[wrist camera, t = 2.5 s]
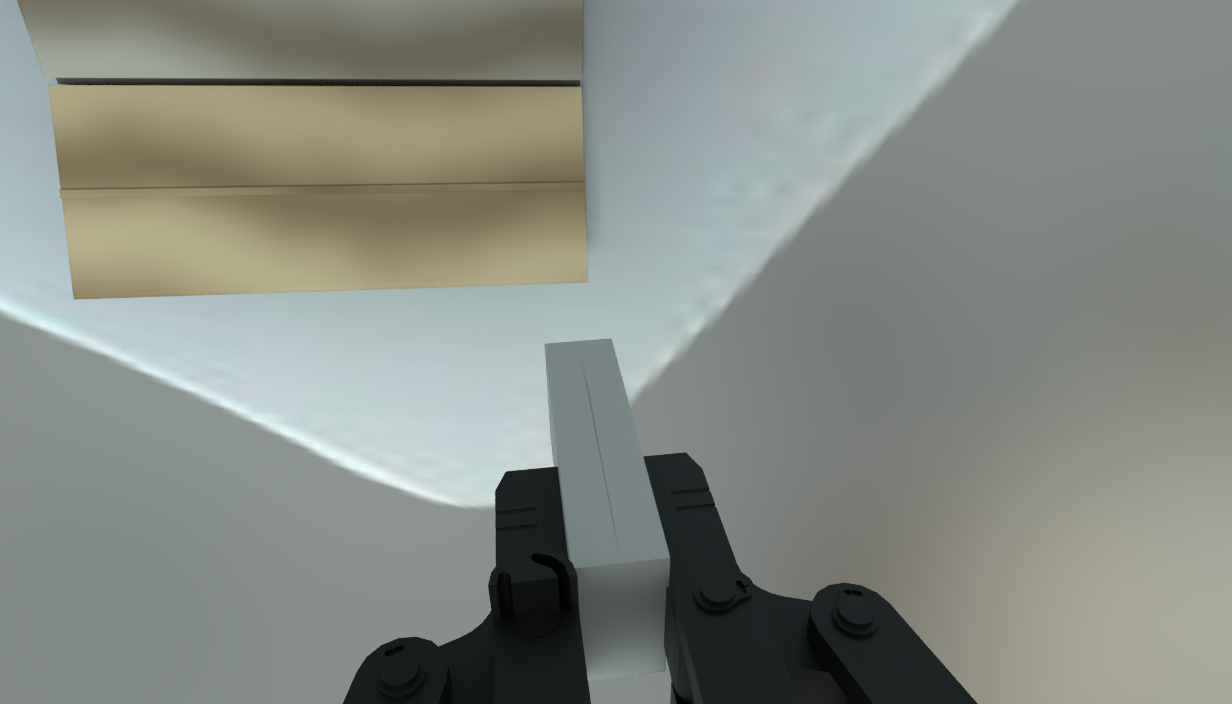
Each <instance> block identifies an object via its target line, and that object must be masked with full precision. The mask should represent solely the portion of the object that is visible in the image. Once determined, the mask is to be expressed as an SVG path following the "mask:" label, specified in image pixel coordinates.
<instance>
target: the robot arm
mask: <svg viewBox="0 0 1232 704" xmlns="http://www.w3.org/2000/svg"><path fill="white" fill-rule="evenodd" d="M545 357H546V372H547V387H548V403H549V418H550V433H551V445H552V454H553V463H554V467H548V468H538V469H527V470H517V471H507V472H506V473H505V474H504V476H503V478H502V480H501V482H500V483H499V485H498V487H497V489H496V491H495V511H496V567H495V568H494V570H493V571H492V572H491V576H490V581H489V585H488V588H489V595H490V602H491V609H492V610H491V612H490V614H489V615H488V616H487V618H486V619H485V620H484V621H483V623H482V624H480V625H479V626H478V627H477V628H475V629H474V630H473V631H472V632H470V633H468V634H466V635H464V636H462V637H460V638H458V639H456V640H453V641H451V642H449V643H446V644H444V645H441V646H439V647H438V646H437V645H436V644H435V643H433V642H432V641H429V640H426V639H422V638H419V637H408V638H398V639H396V640H393V641H391V642H388V643H386V644H384V645H381V646H380V647H379V648H377V649H376V650H375V651H374V652H372V653H371V654H370V655H369V656H367V657H366V659H365V661H364V662H363V664H362V665H361V666H360V668H359V669H358V671H357V673H356V675H355V677H354V680H353V682H352V684H351V686H350V688H349V691H348V693H347V695H346V698H345V700H344V702H343V704H591V702H590V694H589V686H588V681H594V680H602V679H610V678H617V677H625V676H633V675H640V674H647V673H655V672H663V671H665V668H666V667H665V666H666V657H667V662H668V666H669V670H670V674H671V679H672V682H671V702H670V704H977V703H976V701H975V700H974V699H973V698H972V697H971V696H970V695H969V693H967V691H966V690H965V689H964V688H963V687H962V685H961V684H960V683H959V682H958V681H957V680H956V679H955V677H954V676H953V675H952V674H951V673H950V672H949V671H948V669H947V668H946V667H945V666H944V665H943V664H942V663H941V661H940V660H939V659H938V658H937V657H936V656H935V655H934V654H933V652H932V651H931V650H930V649H929V648H928V647H927V646H926V645H925V643H924V642H923V641H922V640H921V639H920V637H919V636H918V635H917V634H916V633H915V632H914V631H913V629H912V628H911V627H910V626H909V625H908V624H907V623H906V622H905V620H904V619H903V618H902V617H901V616H900V615H899V614H898V612H897V611H896V610H895V609H894V608H893V607H892V606H891V604H890V603H889V602H887V601H886V600H885V599H884V598H882V597H881V596H880V595H879V594H878V593H877V592H874V591H872V590H870V589H868V588H866V587H863V586H861V585H855V584H849V583H840V584H834V585H829V586H827V587H825V588H824V589H822V590H820V591H819V592H817V594H816V596H815V598H814V599H813V601H809V600H802V599H796V598H790V597H783V596H780V595H776V594H772V593H769V592H767V591H765V590H762V589H760V588H759V587H757V586H756V585H754V584H753V582H752V581H751V579H750V578H749V577H747V576H746V575H745V574H743V573H742V572H741V570H740V569H739V567H738V565H737V563H736V560H735V557H734V555H733V552H732V549H731V546H730V544H729V541H728V538H727V535H726V533H725V530H724V527H723V525H722V522H721V519H720V516H719V514H718V511H717V508H716V507H715V503H714V500H713V497H712V494H711V492H710V491H709V486H708V483H707V481H706V478H705V475H704V473H703V470H702V468H701V467H700V466H699V465H698V464H697V463H696V462H695V461H694V460H693V459H691V457H690V456H689V455H688V454H687V453H676V454H665V455H655V456H644V457H643V455H642V451H641V447H640V443H639V439H638V436H637V432H636V428H635V424H634V421H633V417H632V414H631V409H630V406H629V402H628V398H627V395H626V391H625V387H624V383H623V380H622V376H621V372H620V369H619V365H618V361H617V357H616V354H615V350H614V346H613V343H612V339H600V340H587V341H574V342H562V343H549V344H545Z"/></svg>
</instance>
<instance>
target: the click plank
mask: <svg viewBox="0 0 1232 704" xmlns="http://www.w3.org/2000/svg"><path fill="white" fill-rule="evenodd" d="M49 93H50V102H51V110H52V119H53V127H54V136H55V144H56V152H57V161H58V169H59V178H60V186H61V190H60V198H62V203H63V212H64V220H65V229H66V237H67V245H68V254H69V262H70V271H71V279H72V288H73V296H74V299H100V298H131V297H161V296H191V295H222V294H252V293H283V292H313V291H344V290H374V289H404V288H435V287H465V286H496V285H526V284H557V283H587V282H588V266H587V235H586V204H585V173H584V142H583V111H582V87H469V86H183V85H49Z"/></svg>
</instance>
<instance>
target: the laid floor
mask: <svg viewBox="0 0 1232 704" xmlns="http://www.w3.org/2000/svg"><path fill="white" fill-rule="evenodd" d="M17 2H18V4H19V7H20V10H21V13H22V16H23V19H24V21H25V24H26V27H27V30H28V33H29V36H30V39H31V41H32V44H33V47H34V50H35V53H36V56H37V59H38V61H39V64H40V67H41V70H42V73H43V76H44V78H56V79H57V81H58V84H265V85H534V86H580V80H582V45H583V0H17Z"/></svg>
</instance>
